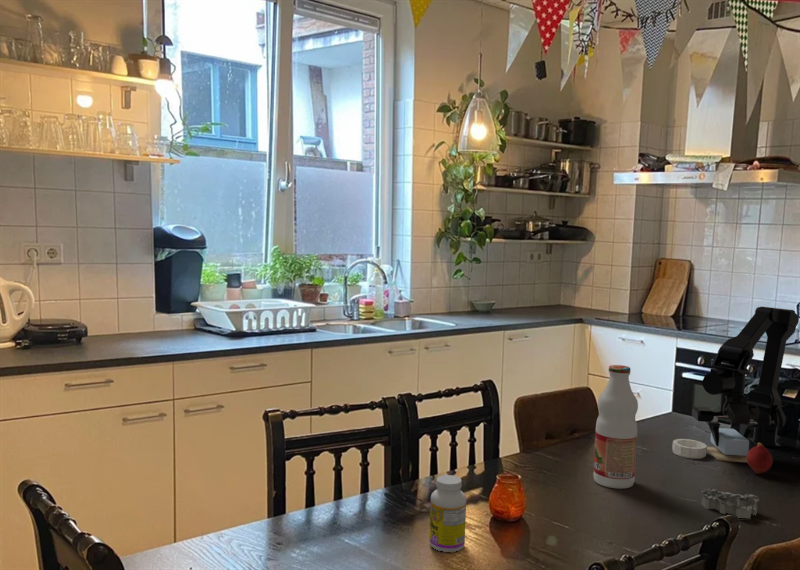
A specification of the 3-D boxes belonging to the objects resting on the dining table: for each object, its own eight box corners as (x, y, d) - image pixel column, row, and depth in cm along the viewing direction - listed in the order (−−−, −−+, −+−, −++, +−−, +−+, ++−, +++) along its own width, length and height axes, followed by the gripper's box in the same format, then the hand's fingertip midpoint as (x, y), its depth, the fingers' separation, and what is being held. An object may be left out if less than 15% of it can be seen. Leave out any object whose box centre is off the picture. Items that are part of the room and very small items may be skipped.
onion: (765, 470, 175) (767, 439, 175) (775, 478, 170) (778, 446, 169) (741, 469, 176) (744, 438, 175) (751, 477, 170) (753, 445, 170)
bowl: (668, 447, 192) (669, 438, 192) (700, 449, 191) (700, 440, 191) (677, 457, 183) (678, 447, 183) (710, 459, 183) (711, 449, 182)
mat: (704, 447, 193) (704, 446, 193) (737, 449, 192) (737, 448, 192) (717, 460, 182) (717, 459, 182) (753, 462, 181) (753, 461, 181)
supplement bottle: (427, 538, 132) (429, 472, 131) (461, 537, 132) (463, 472, 131) (431, 554, 125) (433, 486, 124) (467, 554, 126) (470, 485, 125)
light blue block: (710, 441, 193) (711, 427, 192) (732, 442, 192) (733, 428, 192) (724, 454, 182) (725, 439, 181) (748, 455, 181) (749, 440, 181)
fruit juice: (623, 492, 158) (630, 372, 155) (585, 481, 164) (591, 366, 162) (640, 482, 164) (647, 367, 162) (604, 472, 171) (610, 361, 168)
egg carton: (761, 515, 148) (762, 496, 148) (744, 523, 143) (746, 504, 143) (712, 498, 156) (714, 481, 156) (695, 506, 152) (697, 488, 151)
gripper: (706, 395, 179) (702, 454, 180) (782, 399, 176) (777, 458, 178) (693, 385, 190) (689, 441, 191) (764, 389, 188) (760, 445, 189)
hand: (728, 446), depth 187 cm, fingers closed on light blue block, 6 cm apart
